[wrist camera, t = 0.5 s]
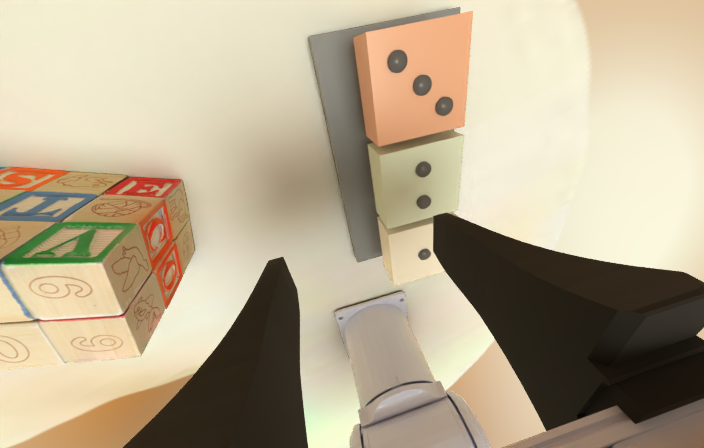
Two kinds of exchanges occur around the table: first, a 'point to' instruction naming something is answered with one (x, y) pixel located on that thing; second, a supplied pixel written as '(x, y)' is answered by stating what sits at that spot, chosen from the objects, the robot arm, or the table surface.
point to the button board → (352, 126)
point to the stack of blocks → (86, 263)
